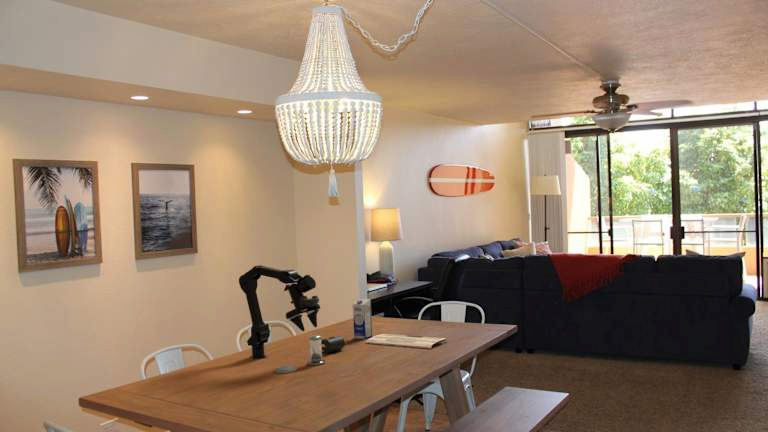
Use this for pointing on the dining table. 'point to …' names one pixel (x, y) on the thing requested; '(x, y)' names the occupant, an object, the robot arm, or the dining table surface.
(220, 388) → the dining table surface
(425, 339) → the newspaper
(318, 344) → the drinking glass
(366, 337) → the milk carton
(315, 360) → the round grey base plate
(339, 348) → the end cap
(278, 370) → the coaster
